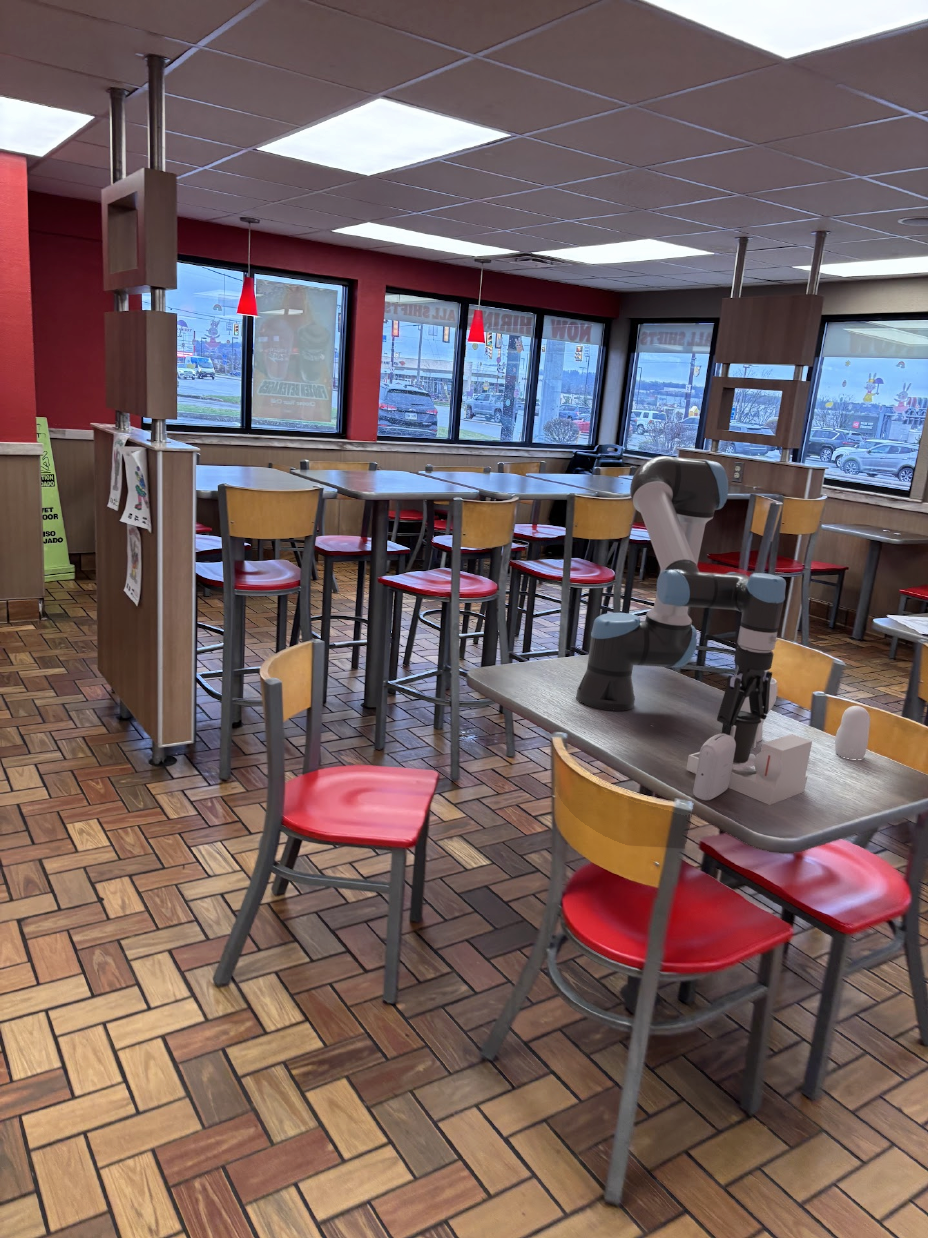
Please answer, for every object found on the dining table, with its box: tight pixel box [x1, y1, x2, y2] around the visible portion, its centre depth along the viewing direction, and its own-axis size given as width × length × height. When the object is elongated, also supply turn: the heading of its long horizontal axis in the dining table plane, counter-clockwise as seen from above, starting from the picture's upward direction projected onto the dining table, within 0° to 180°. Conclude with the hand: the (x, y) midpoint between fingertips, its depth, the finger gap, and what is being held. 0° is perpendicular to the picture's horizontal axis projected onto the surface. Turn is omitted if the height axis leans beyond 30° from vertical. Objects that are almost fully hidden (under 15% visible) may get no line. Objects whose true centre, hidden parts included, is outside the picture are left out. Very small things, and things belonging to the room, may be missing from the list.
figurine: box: [834, 705, 871, 760], centre depth 215 cm, size 7×8×12 cm
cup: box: [740, 677, 778, 743], centre depth 220 cm, size 11×11×15 cm
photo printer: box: [692, 733, 736, 801], centre depth 183 cm, size 10×4×12 cm, turn 140°
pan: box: [731, 752, 757, 774], centre depth 195 cm, size 12×12×3 cm
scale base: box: [685, 733, 813, 806], centre depth 192 cm, size 21×14×11 cm
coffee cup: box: [733, 711, 761, 762], centre depth 194 cm, size 8×8×10 cm
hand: (737, 749), depth 194 cm, fingers open, 9 cm apart
